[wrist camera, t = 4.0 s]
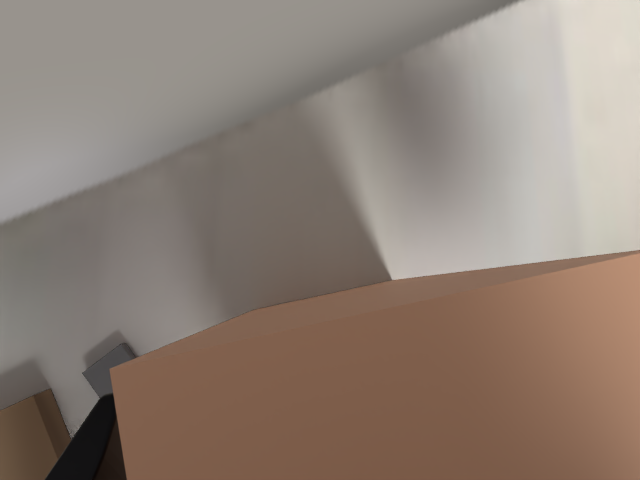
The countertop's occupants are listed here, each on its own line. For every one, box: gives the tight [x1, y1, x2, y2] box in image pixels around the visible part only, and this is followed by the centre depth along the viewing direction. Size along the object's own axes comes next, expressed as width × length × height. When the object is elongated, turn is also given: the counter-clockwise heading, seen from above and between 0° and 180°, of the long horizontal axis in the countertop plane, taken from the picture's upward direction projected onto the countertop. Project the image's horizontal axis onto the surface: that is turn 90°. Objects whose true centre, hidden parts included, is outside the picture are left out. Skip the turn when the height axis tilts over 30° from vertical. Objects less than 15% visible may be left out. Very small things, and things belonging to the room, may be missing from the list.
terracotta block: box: [109, 250, 640, 480], centre depth 10 cm, size 5×5×12 cm
